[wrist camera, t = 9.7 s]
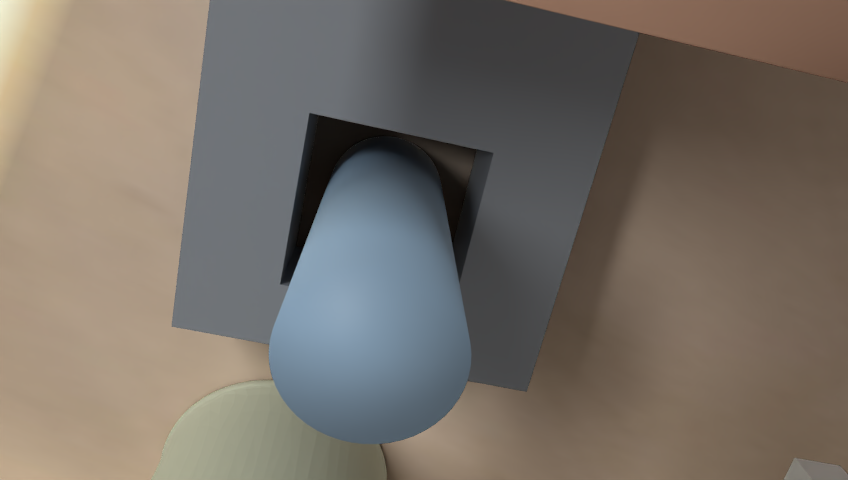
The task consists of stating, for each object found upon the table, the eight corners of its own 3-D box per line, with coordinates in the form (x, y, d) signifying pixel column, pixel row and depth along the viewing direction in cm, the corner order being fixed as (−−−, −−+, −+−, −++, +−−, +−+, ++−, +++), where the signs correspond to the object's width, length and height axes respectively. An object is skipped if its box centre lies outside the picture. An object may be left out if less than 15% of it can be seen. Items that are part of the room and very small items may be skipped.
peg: (340, 125, 24) (285, 246, 13) (452, 149, 25) (493, 288, 14) (320, 232, 26) (255, 426, 14) (427, 253, 26) (445, 458, 15)
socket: (263, -201, 21) (237, -235, 18) (644, -102, 22) (686, -116, 19) (200, 283, 26) (171, 326, 23) (511, 342, 27) (526, 391, 24)
